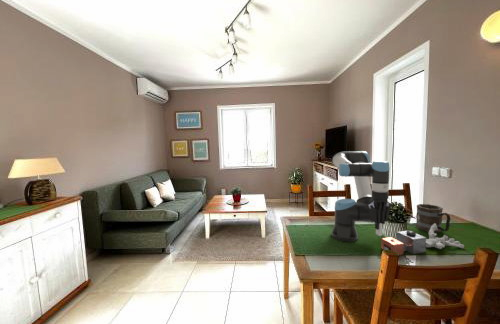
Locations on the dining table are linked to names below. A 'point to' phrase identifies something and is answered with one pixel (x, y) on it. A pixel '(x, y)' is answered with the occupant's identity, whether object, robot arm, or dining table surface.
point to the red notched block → (392, 244)
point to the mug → (430, 217)
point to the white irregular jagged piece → (440, 240)
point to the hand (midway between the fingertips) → (379, 234)
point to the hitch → (411, 242)
